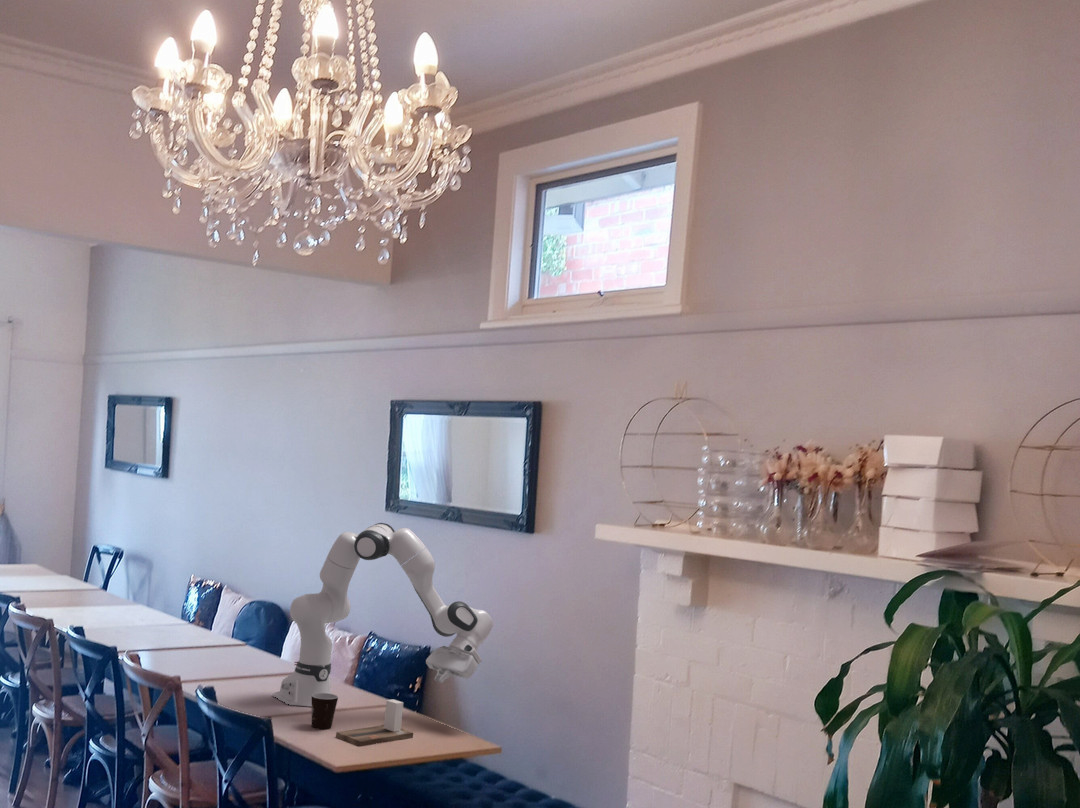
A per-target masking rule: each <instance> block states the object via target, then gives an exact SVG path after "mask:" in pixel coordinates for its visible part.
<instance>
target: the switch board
mask: <svg viewBox="0 0 1080 808" xmlns="http://www.w3.org/2000/svg"><path fill="white" fill-rule="evenodd" d="M335 733H336V734H335V737H336V738H337V739H340V740H343V741H346V742H348V743H350V744H353V745H356V746H358V747H363V746H364V747H365V746H370V745H376V743H377V744H382V742H383V743H388V741H389V742H394V741H398V740H399V741H400V740H406V739H411V738H412V739H413V738H414V732H413V731H409V730H407V729H405V728H404V729H403V728H401V731H395V732H393V731H390V730H387V729H385V728H384V724H382V725H376V726H370V727H369V726H368V727H362V728H357V729H354V728H353V729H349V730H348V729H347V730H343V731H336V732H335Z"/></svg>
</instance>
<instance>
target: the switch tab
mask: <svg viewBox="0 0 1080 808" xmlns="http://www.w3.org/2000/svg"><path fill="white" fill-rule="evenodd" d="M385 702H386V704H385V711H384V722H383V725H384V728H385V729H387V730H390V731H393V732H395V731H401V729H402V723H403V722H402V720H403V711H404V702H403V701H400V700H397V699H392V698H391V699H387V700H386V701H385Z"/></svg>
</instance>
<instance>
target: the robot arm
mask: <svg viewBox="0 0 1080 808" xmlns="http://www.w3.org/2000/svg"><path fill="white" fill-rule="evenodd" d="M387 555H390V556H392V557H393V558H394V559H395V560H396V561H397V563H398V564H399V566H400V567H401V568H402V570H403V571H404V573H405V574H406V575H407V576H406V577H408V578H409V581H410V583H411V584H412V586H413V588H414V591H415V592H416V594H417V596H418V598H419V599H420V601H421V603H423V606H424V607H425V609H426V611H427V612H428V614H429V616H430V621H431V623H432V627H433V630H434V631H435V632H436V633H437V634H438V635H439V636H441V637H446V638H447V637H452V636H454V635H456V636H455V637H454V639H453V640H452V641H451V643H450V644H449V645H448V646H446V645H442V646H439V647H437V648H436V649H435V650H433V651H432V652H431V654H430V655H428V657H427V658H426V659H425V664H426V665H427V667H428V669H431V670H434V671H436V675H435V676H434V681H435V682H438V683H439V684H440V683H441V684H443V683H444V682H445V680H447V679H449V678H451V677H452V676H456V677H459V678H462V679H464V680H465V679H467V680H468V679H469V678H471V677H472V676H473V675H474V673H475V672H476V670H477V669H478V667H479V665H481V663H482V660H483V659H482V658H481V655H479V653H478V648H479V646H480V645H482V644H483V643H485V641H486V639H487V638H488V636H489V635H490V633H491V631H492V629H493V626H494V621H493V618H492V616H491V615H490V614H489V613H488V612H487V611H486V610H483V609H478V608H477V609H476V608H473V607H472V606H469V605H468V603H465V602H463V601H461V600H460V601H459V600H458V601H455V602H452V603H450V604H448V605H446V604H445V603H444V601H443V599H442V598H441V597H440V595H439V593H438V592H437V590H436V588H435V587H434V584H433V583H434V582H433V575H434V572H435V568H436V562H435V560H434V557H433V555H432V553H431V552H430V551H429V549H428V547H427V546H426V545H425V544H424V543H423V541H422V540H421V539H420V537H418V536H417V534H415V532H413V531H412V530H411V529H410V528H408V527H402V528H399V529H397V530H395V529H394V527H392V526H391V525H390V524H388V523H386V522H385V523H384V522H377V523H375V524H373V525H370V526H368V527H367V528H365V530H362V531H361V532H360V533H359V534H357V533H355V532H352V531H344V532H342V533H340V534H339V536H338V537H336V540H335V541H334V542H333V544H332V546H331V548H330V549H329V552H328V553H327V556H326V557H325V558H326V559H325V561H324V563H323V565H322V567H321V569H320V572H319V578H320V581H321V582H322V589H321V591H320V592H317V593H306V594H303V595H300V596H297V597H295V599H293V600H292V602H291V604H290V607H289V608H290V609H289V613H290V618H291V619H292V621H293V622H295V623H296V625H297V627H298V630H299V631H298V632H299V634H300V651H299V657H298V658H299V659H298V661H294V665H293V666H295V668H294V671H293V672H292V673H290V674H289V675H288V676H285V678H283V679H282V681H281V684H280V688H279V691H276V692H273V693H272V697H274V698H275V697H276V698H275V699H277V698H278V700H279V701H280V702H282V701H283V703H284V702H285V703H284V704H286V705H288V704H289V705H288V706H300V707H301V706H302V707H311V708H312V694H316V693H328V694H332V693H331V687H332V686H331V684H332V683H331V682H332V681H331V679H332V678H331V677H330V674H331V672H332V671H331V670H332V663H331V658H332V650H333V649H332V648H333V641H332V639H331V637H329V636H328V634H327V632H326V624H333V623H336V622H340V621H342V620H344V619H346V618H347V617H348V616H349V614H350V613H351V602H350V600H349V597H348V589H349V586H350V582H351V580H352V578H353V575H354V573H355V570H356V568H357V565H358V563H359V561H360V559H362V560H364V561H374V560H377V559H380V558H383V557H386V556H387Z"/></svg>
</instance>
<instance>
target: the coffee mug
mask: <svg viewBox="0 0 1080 808" xmlns="http://www.w3.org/2000/svg"><path fill="white" fill-rule="evenodd" d="M338 699H339V696H338V695H336V694H334V693H331V694H328V693H316V694H312V707H311V728H312V729H315V730H320V731H321V730H323V731H324V730H331V729H332V725H333V721H334V716H335V713H336V709H337V704H338Z"/></svg>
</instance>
